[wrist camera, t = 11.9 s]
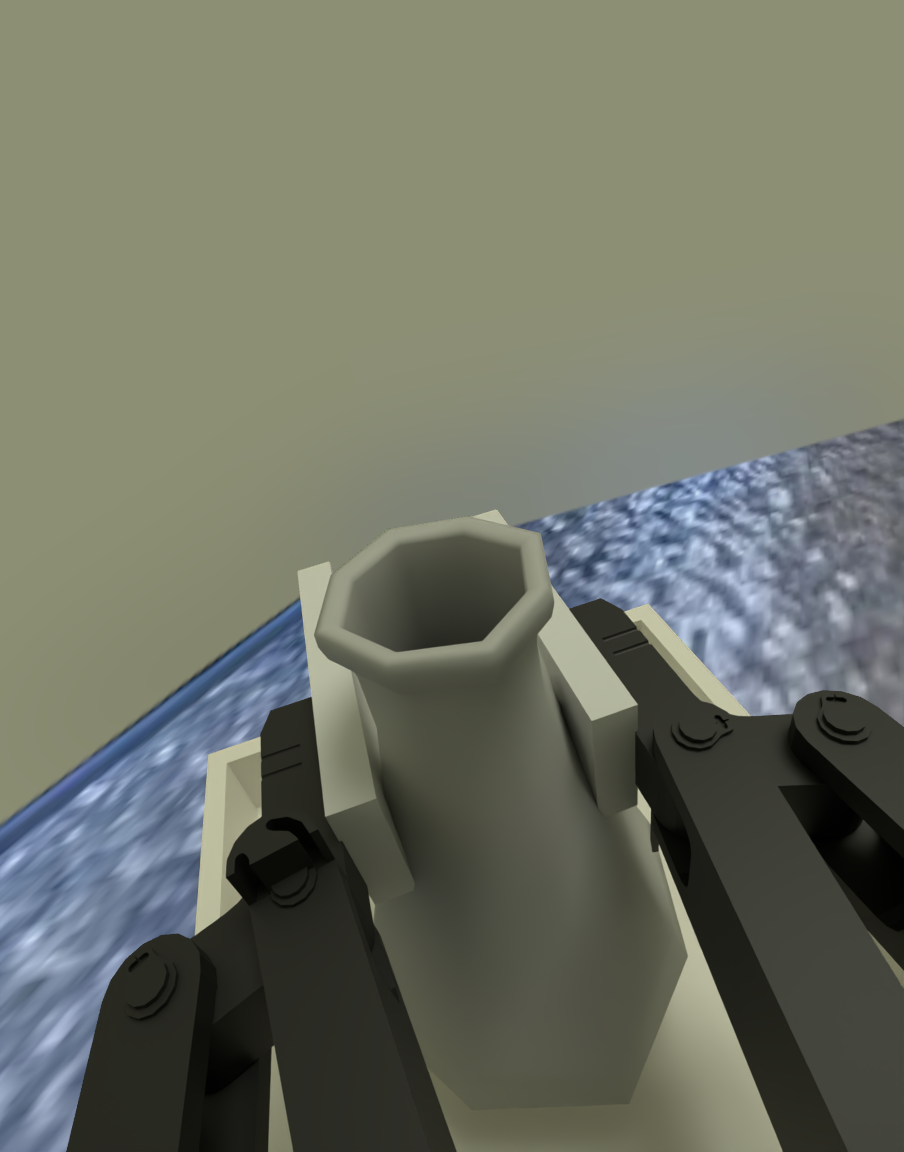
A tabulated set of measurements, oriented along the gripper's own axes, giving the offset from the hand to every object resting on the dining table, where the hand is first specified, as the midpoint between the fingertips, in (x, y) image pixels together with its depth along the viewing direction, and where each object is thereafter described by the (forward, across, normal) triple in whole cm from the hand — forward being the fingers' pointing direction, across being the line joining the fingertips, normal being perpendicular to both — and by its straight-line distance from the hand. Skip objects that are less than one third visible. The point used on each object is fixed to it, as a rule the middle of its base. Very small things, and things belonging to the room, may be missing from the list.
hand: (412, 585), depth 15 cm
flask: (-5, 0, -6) cm, 8 cm away
